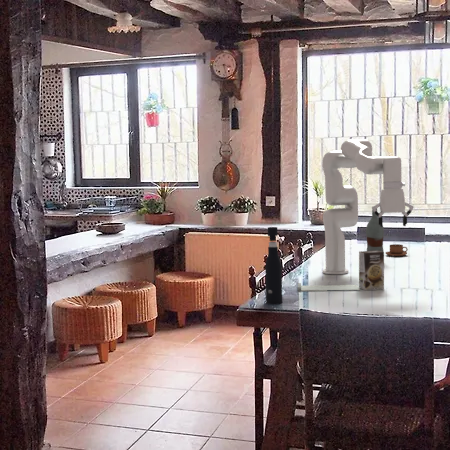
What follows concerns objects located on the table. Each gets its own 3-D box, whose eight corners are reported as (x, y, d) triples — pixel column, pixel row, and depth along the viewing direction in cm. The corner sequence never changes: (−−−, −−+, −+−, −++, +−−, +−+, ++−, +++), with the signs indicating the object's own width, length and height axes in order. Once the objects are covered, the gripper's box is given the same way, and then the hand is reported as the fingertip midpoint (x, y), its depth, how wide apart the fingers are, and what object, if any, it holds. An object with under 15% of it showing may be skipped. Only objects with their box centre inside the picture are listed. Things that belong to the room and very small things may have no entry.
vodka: (365, 263, 367) (365, 207, 364) (366, 261, 376) (365, 206, 373) (384, 264, 365) (383, 207, 362) (384, 261, 374) (383, 205, 371)
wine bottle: (281, 300, 280) (279, 226, 277) (283, 303, 274) (281, 228, 271) (265, 301, 280) (263, 226, 277) (266, 304, 274) (265, 228, 271)
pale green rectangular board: (298, 287, 308) (297, 283, 308) (357, 286, 306) (357, 282, 305) (298, 291, 298) (298, 287, 298) (359, 290, 296) (359, 286, 295)
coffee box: (365, 290, 296) (365, 253, 294) (358, 288, 302) (358, 251, 300) (384, 288, 298) (384, 251, 297) (377, 286, 304) (377, 249, 303)
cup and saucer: (403, 254, 400) (403, 243, 399) (409, 257, 388) (409, 246, 388) (383, 254, 400) (383, 244, 399) (388, 257, 388) (388, 246, 387)
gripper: (411, 185, 298) (412, 225, 299) (370, 186, 299) (371, 225, 301) (414, 185, 290) (415, 226, 292) (372, 186, 292) (373, 227, 294)
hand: (392, 226), depth 296 cm, fingers open, 9 cm apart
